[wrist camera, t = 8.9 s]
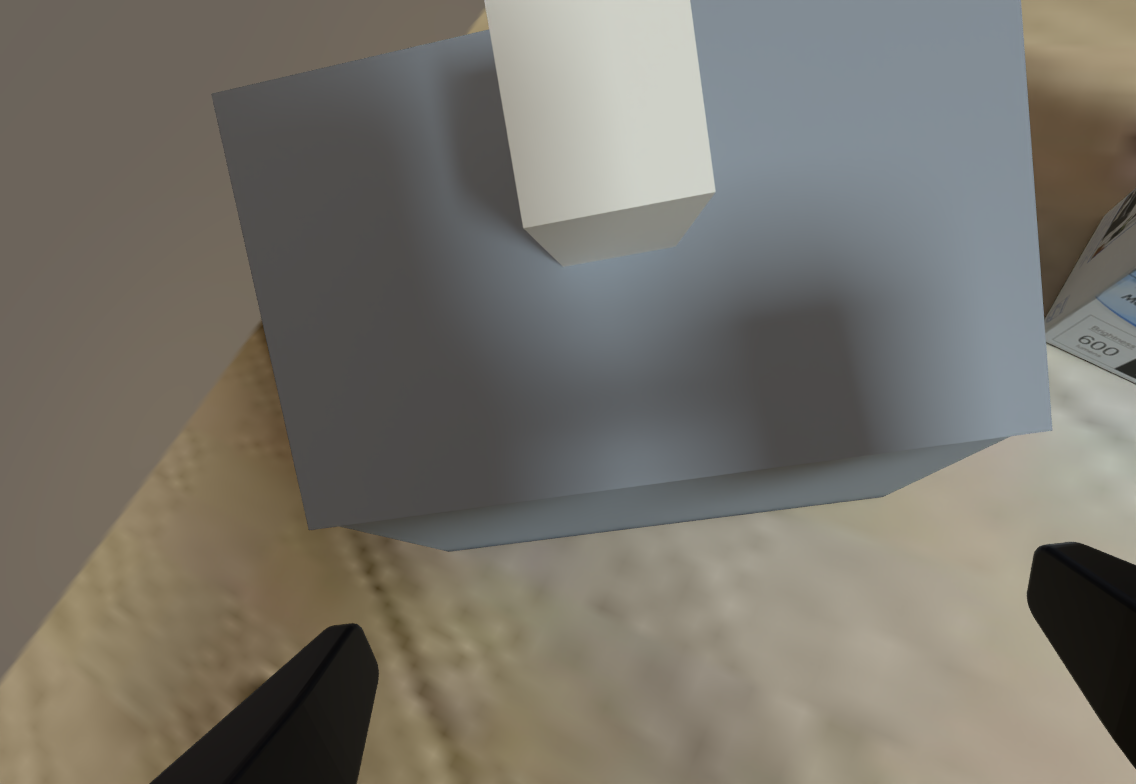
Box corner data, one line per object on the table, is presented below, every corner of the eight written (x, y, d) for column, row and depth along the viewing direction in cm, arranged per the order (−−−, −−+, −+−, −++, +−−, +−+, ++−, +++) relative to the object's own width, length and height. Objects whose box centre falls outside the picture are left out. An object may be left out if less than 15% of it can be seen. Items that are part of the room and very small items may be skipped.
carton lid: (1024, 423, 12) (1376, 512, 7) (326, 518, 14) (126, 652, 8) (986, -64, 11) (1368, -464, 5) (235, 107, 13) (-66, -61, 7)
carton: (882, 496, 20) (1014, 434, 12) (448, 551, 22) (336, 525, 14) (809, 259, 23) (877, 101, 16) (443, 322, 25) (351, 206, 18)
